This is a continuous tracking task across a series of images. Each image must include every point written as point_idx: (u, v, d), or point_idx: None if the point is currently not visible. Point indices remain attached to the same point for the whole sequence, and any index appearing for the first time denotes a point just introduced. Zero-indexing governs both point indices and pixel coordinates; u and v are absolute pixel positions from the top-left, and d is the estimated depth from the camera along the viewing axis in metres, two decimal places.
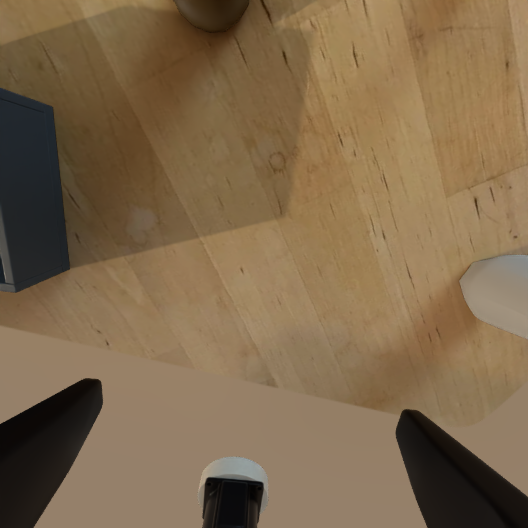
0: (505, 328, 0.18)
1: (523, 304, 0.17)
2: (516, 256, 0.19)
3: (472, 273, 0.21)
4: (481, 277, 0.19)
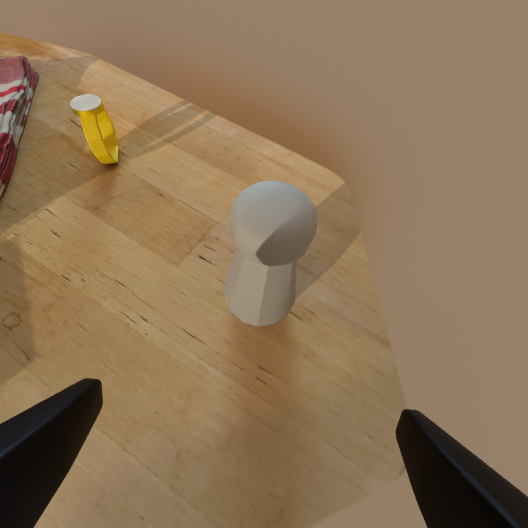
0: (257, 312, 0.18)
1: (232, 282, 0.18)
2: None
3: None
4: (224, 293, 0.21)
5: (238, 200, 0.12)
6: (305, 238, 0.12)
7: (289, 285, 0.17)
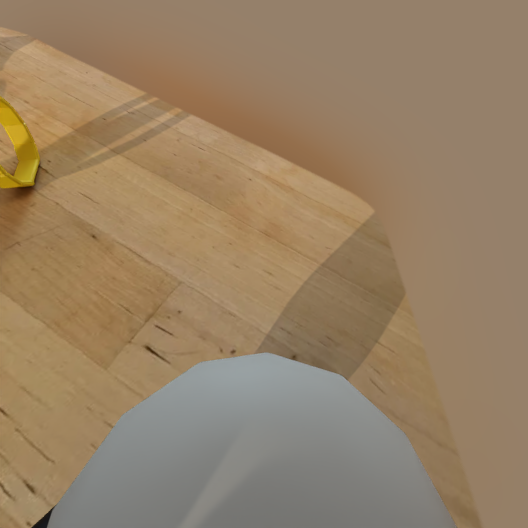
0: None
1: None
2: None
3: None
4: None
5: None
6: None
7: None
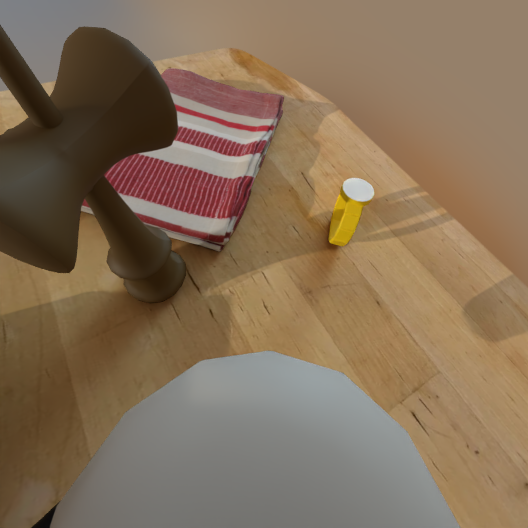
0: None
1: None
2: None
3: None
4: None
5: None
6: None
7: None
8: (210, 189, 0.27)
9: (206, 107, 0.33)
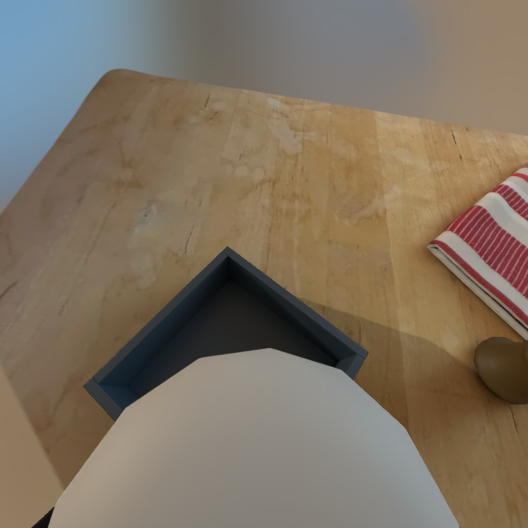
0: None
1: None
2: None
3: None
4: None
5: None
6: None
7: None
8: None
9: None
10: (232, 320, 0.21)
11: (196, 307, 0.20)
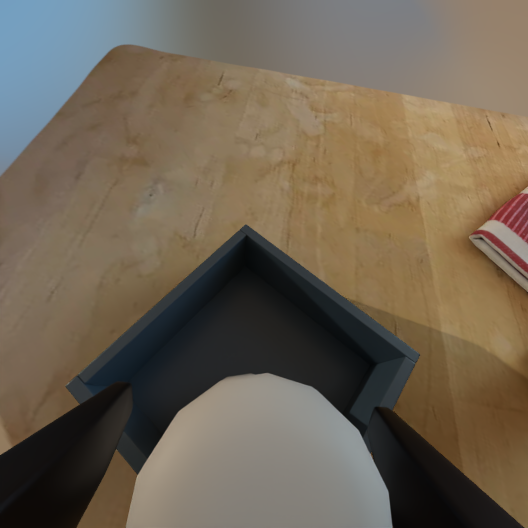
0: None
1: None
2: None
3: None
4: None
5: (145, 496, 0.04)
6: None
7: None
8: None
9: None
10: (248, 313, 0.18)
11: (206, 296, 0.17)
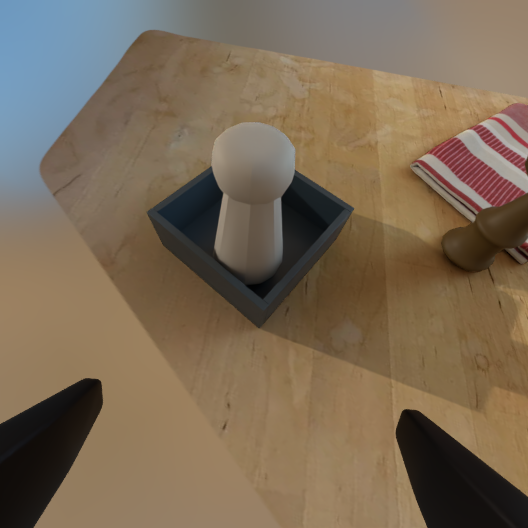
0: (243, 266, 0.19)
1: (219, 236, 0.18)
2: None
3: None
4: (213, 253, 0.21)
5: (219, 138, 0.13)
6: (282, 172, 0.12)
7: (273, 236, 0.17)
8: None
9: None
10: None
11: None
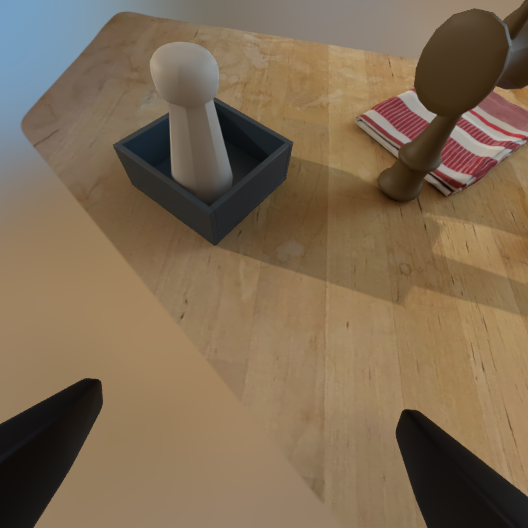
0: (193, 181, 0.22)
1: (172, 156, 0.22)
2: None
3: None
4: None
5: (155, 51, 0.16)
6: (203, 73, 0.16)
7: (214, 149, 0.21)
8: (459, 155, 0.33)
9: None
10: None
11: None
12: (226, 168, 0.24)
